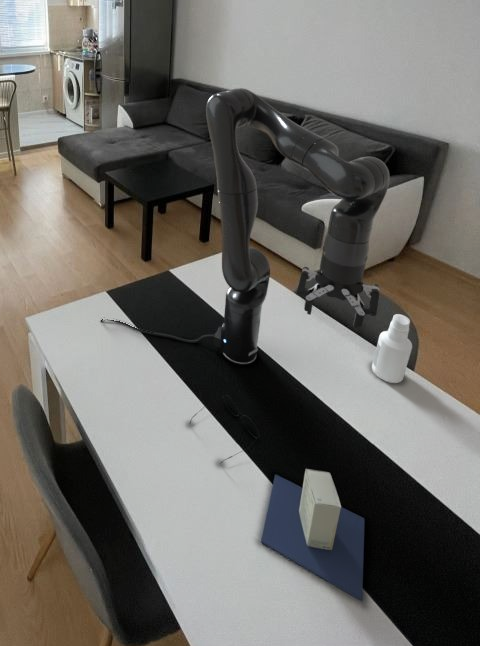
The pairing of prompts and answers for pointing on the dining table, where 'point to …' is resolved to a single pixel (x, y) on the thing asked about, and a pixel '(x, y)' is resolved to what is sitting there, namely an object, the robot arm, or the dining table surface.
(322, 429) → the dining table surface
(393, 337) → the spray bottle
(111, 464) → the dining table surface
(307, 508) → the cosmetic box
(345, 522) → the cloth
